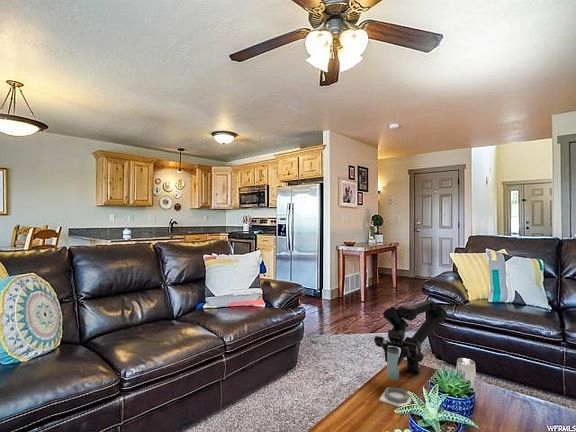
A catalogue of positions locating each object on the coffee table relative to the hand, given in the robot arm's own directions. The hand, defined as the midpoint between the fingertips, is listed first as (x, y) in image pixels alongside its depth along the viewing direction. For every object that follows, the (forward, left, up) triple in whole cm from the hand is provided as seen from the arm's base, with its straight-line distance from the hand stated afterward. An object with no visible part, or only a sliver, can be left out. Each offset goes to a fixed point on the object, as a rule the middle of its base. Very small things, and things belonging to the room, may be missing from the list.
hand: (392, 363), depth 143 cm
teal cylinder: (-1, 0, -7) cm, 7 cm away
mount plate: (+8, +4, -11) cm, 14 cm away
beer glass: (-9, +28, -11) cm, 32 cm away
